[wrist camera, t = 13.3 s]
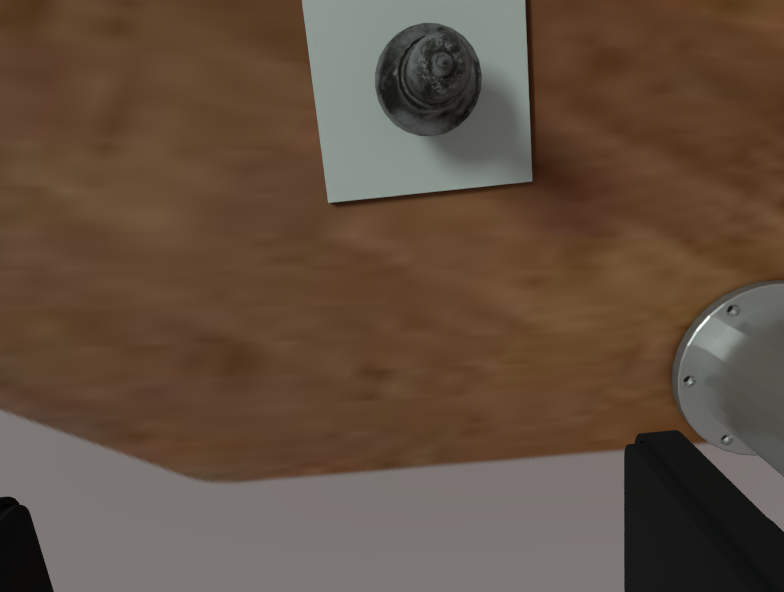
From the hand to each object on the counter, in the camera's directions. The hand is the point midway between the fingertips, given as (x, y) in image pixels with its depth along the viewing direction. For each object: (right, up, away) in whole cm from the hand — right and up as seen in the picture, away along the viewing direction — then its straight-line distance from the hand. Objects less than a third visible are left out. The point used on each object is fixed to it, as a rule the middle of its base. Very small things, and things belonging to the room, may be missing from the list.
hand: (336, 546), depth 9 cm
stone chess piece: (+3, +17, +27) cm, 32 cm away
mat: (+3, +17, +27) cm, 32 cm away
